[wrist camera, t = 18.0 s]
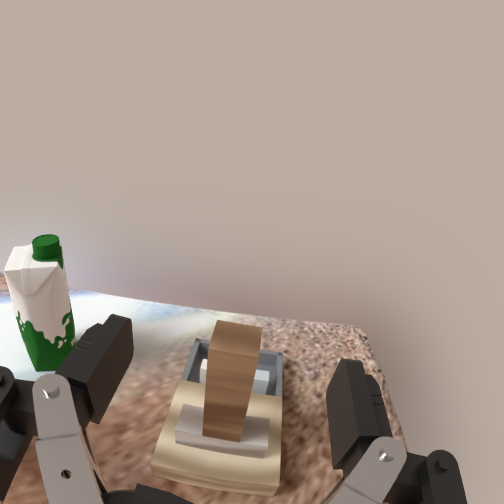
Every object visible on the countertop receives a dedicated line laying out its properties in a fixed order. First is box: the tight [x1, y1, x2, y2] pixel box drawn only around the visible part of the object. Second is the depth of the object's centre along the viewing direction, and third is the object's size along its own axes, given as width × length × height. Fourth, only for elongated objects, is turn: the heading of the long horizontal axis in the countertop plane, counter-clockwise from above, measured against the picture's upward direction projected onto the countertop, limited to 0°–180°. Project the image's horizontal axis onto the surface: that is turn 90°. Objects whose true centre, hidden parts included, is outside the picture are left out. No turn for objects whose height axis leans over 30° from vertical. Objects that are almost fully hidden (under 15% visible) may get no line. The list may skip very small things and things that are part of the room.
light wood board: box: [150, 379, 282, 497], centre depth 34 cm, size 14×14×4 cm
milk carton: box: [4, 234, 75, 371], centre depth 38 cm, size 9×9×20 cm
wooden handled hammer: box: [175, 320, 270, 459], centre depth 29 cm, size 4×10×16 cm, turn 85°
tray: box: [181, 338, 283, 397], centre depth 46 cm, size 10×14×3 cm
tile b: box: [251, 370, 269, 395], centre depth 43 cm, size 4×4×2 cm
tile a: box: [199, 359, 207, 385], centre depth 43 cm, size 4×4×2 cm
